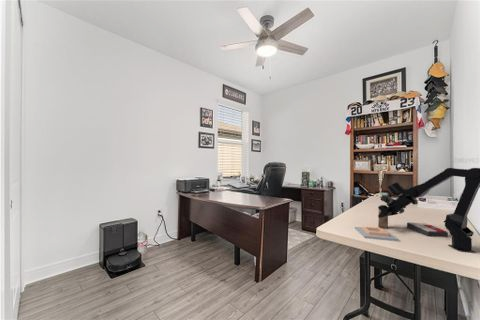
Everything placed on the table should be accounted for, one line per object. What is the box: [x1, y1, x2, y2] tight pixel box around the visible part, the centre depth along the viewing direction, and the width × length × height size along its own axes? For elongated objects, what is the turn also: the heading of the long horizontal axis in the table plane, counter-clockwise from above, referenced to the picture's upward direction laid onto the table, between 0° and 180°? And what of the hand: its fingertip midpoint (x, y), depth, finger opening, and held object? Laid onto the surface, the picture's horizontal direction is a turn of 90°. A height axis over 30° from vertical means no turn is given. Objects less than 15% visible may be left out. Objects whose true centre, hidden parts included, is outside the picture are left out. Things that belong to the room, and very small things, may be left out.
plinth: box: [354, 225, 400, 242], centre depth 111 cm, size 16×16×2 cm
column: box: [377, 208, 389, 230], centre depth 124 cm, size 5×5×13 cm
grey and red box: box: [406, 222, 449, 238], centre depth 117 cm, size 11×4×15 cm
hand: (380, 216), depth 125 cm, fingers closed on column, 5 cm apart
